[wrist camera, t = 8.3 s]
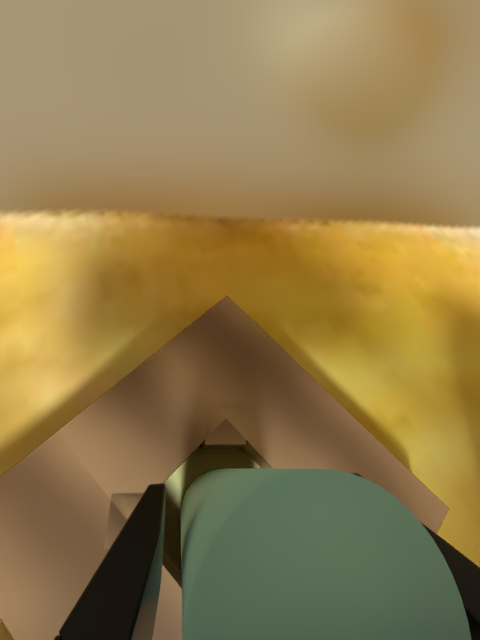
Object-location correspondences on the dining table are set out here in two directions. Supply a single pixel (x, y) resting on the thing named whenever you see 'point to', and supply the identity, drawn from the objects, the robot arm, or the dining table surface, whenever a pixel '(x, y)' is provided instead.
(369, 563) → the round dowel
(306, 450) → the socket board
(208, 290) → the dining table surface
